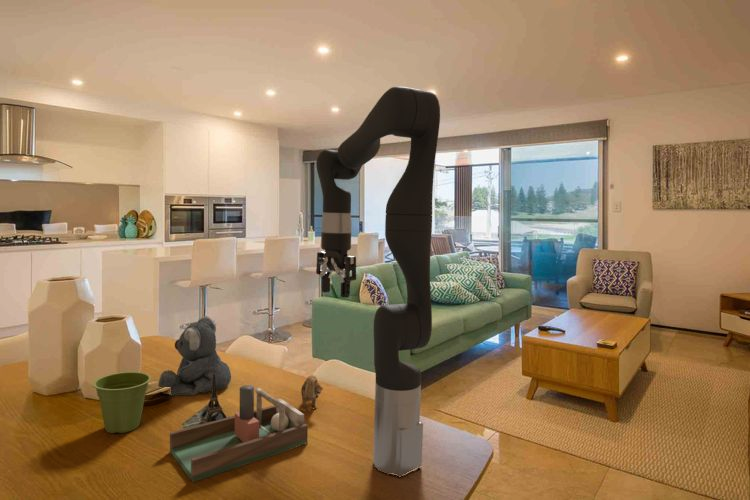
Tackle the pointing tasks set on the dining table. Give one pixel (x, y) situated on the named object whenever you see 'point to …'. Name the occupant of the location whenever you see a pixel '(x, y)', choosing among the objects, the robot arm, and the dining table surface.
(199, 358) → the koala plush
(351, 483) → the dining table surface
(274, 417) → the ball
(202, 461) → the pitch
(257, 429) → the striker
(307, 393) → the lion figurine
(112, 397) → the plant pot
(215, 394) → the eiffel tower figurine
